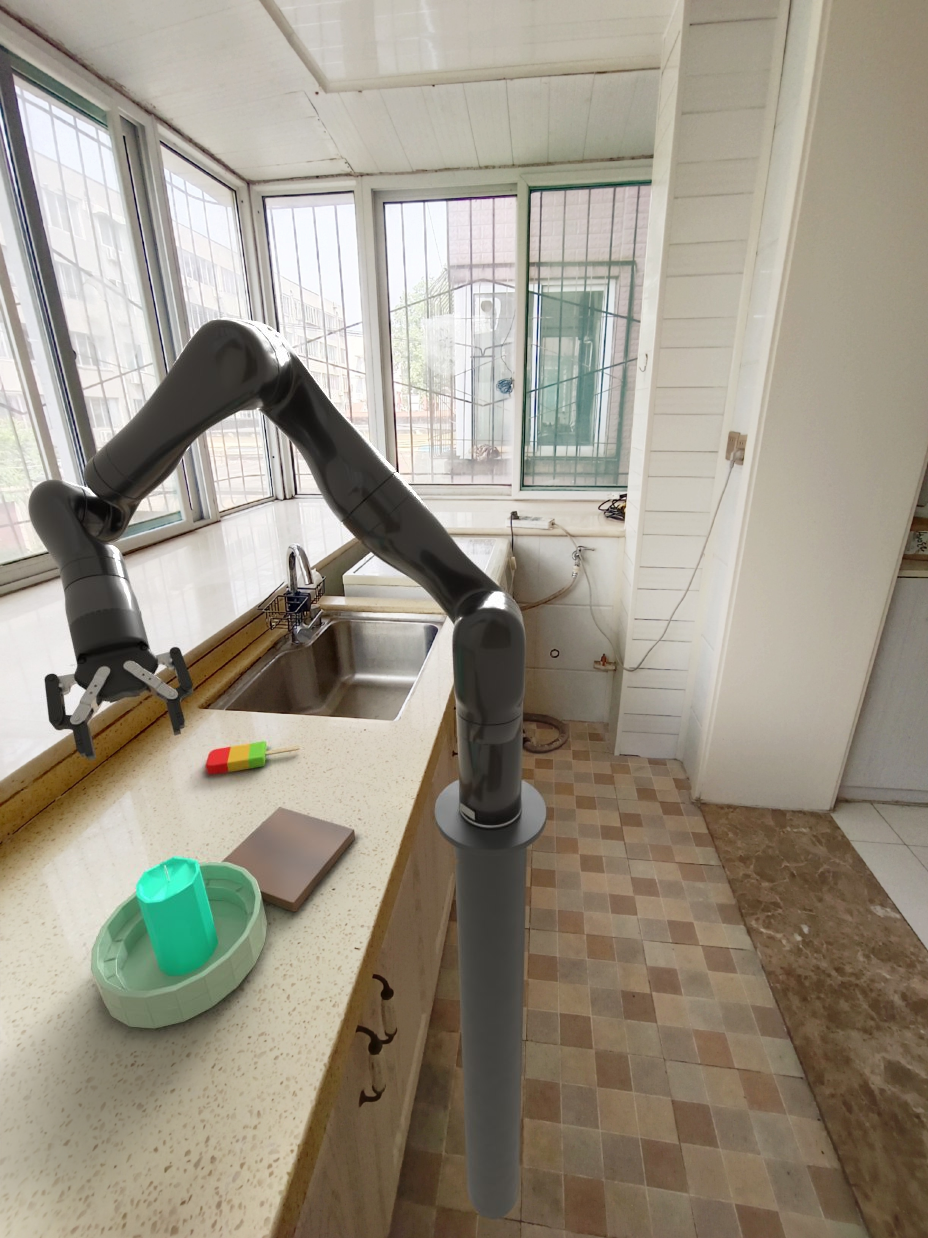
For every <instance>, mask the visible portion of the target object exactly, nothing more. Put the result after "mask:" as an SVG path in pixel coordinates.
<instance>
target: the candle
mask: <svg viewBox="0 0 928 1238" xmlns="http://www.w3.org/2000/svg"><path fill="white" fill-rule="evenodd" d="M199 863H200V862H199V860H196V859H194V858H190V857H184V856H183V857H181V856H176V855H174V856H172V857H170V858H168V859H166V860H164V861H162V862H160V863H157V864H156V865H154V866H153V867H150V868H149V869H146V870H144V872H143V873H142V874H141V876H140V877H139V879H138V881H137V883H136V884H135V891H136V896H137V899H138V903H139V906H140V909H141V912H142V915H143V918H144V921H145V924H146V927H147V931H148V934H149V937H150V940H151V943H152V946H153V949H154V952H155V955H156V959H157V962H158V965H159V968H160V969H161V970H162V971H163V972H165V973H166V974H167V975H185V974H187V973H189V972H191V971H194V970H196V969H198V968H200V967H201V966H202V965H203V964H204V963H205V962H206V961H207V960H208V959H209V958H210V957H211V956H212V955H213V953H214V951H215V949H216V946H217V944H218V939H217V933H216V929H215V925H214V921H213V917H212V913H211V909H210V906H209V902H208V898H207V894H206V890H205V886H204V882H203V878H202V875H201V871H200V867H199Z"/></svg>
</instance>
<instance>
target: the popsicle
mask: <svg viewBox="0 0 928 1238" xmlns="http://www.w3.org/2000/svg"><path fill="white" fill-rule="evenodd" d="M267 749H268V746H267V741H266V740H263V741H256V742H250V743H244V744H238V745H232V746H226V747H220V748H219V747H218V748H215V749H212V750H211V751H209V753H208V756H207V759H206V762H205V770H206V772H207V774H208V775H213V776H214V775H219V774H225V773H233V772H238V771H242V770H243V771H244V770H249V769H255V768H260V767H264V766H265V765H266V758H267V757H266V756H272V755H276V754H283V753H288V752H289V753H290V752H295V751H299V750H300V749H301V746H300V745H295V746H293V745H292V746H288V747H281V748H277V749H270V750H267Z"/></svg>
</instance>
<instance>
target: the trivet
mask: <svg viewBox="0 0 928 1238" xmlns="http://www.w3.org/2000/svg"><path fill="white" fill-rule="evenodd" d="M355 839H356V832H355V829H354V828H352V827H351V828H350V827H348V826H345V825H341V824H337V823H335V822H332V821H329V820H324V819H321V818H318V817H315V816H311V815H308V814H305V813H301V812H298V811H294V810H291V809H288V808H284V807H282V806H279V807H277V809H276V810H275V811H273V812H272V813H271V814H270V815H269V816H268V817H267V818H266V819H265V820H264V821H263V822H262V823H260V825H259V826H258V827H256V828H255V829H254V831H252V832H251V833H249V835H248V836H247V837H246V838H245V839H244V840H243V841H242V842H241V843H240V844H238V846H236V847H235V849H233V850H232V851H231V852H230V853H229V854H228V855H227V856H226V857H225V858H224V859H223V860H222V861H221V862H228V863H231V864H234V865H237V866H239V867H242V868H245V869H246V870H247V871H248V872H249V873H250V874H251V875H252V876H253V877H254V878H255V879H256V880H257V883H258V886H259V890H260V893H261V896H262V901H263V902H267V903H269V904H272V905H274V906H277V907H279V908H283V909H285V910H287V911H290V912H292V913H296V912H297V911H298V910H299V908H300V907H301V906H302V905H303V903H304V902H305V901H306V899H308V897H309V896H310V895H311V893H312V892H313V891H314V890H315V889H316V887H317V886H318V885H319V883H320V882H321V881H322V880H323V879H324V877H325V876H326V875H327V874H328V872H329V871H330V870H331V868H332V867H333V866H334V865H335V864H336V862H337V861H338V860H339V858H340V857H341V856H342V855H343V854H344V853H345V851H346V850H347V849H348V848H349V846H350V845H351V844H352V842H353V841H354V840H355Z"/></svg>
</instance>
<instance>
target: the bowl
mask: <svg viewBox="0 0 928 1238" xmlns="http://www.w3.org/2000/svg"><path fill="white" fill-rule="evenodd" d="M198 863H199V867H200V871H201V875H202V878H203V882H204V886H205V890H206V894H207V898H208V902H209V906H210V909H211V913H212V917H213V921H214V925H215V929H216V933H217V939H218V944H217V946H216V949H215V951H214V953H213V955H212V956H211V957H210V958H209V959H208V960H207V961H206V962H205V963H204V964H203V965H202V966H201V967H200V968H198V969H196V970H194V971H191V972H189V973H187V974H185V975H167V974H166V973H165V972H163V971H162V970H161V969H160V968H159V965H158V962H157V959H156V955H155V952H154V949H153V946H152V943H151V940H150V937H149V934H148V931H147V927H146V924H145V921H144V918H143V915H142V912H141V909H140V906H139V903H138V899H137V896H136V890H135V891H134V892H133V893H132V894H130V895H129V896H128V897H127V898H126V899H125V900H123V901H122V902H121V903H120V904H118V906H116V908H115V909H114V911H113V912H112V913H111V914H110V915H109V916H108V918H107V919H106V921H105V922H104V923H103V924H102V926H101V927H100V929H99V931H98V933H97V936H96V938H95V940H94V943H93V945H92V948H91V957H90V971H91V974H92V976H93V979H94V981H95V984H96V987H97V990H98V992H99V995H100V997H101V1000H102V1002H103V1003H104V1005H105V1007H106V1009H107V1011H108V1013H109V1015H110V1017H112V1018H113V1019H115V1020H117V1021H119V1022H121V1023H122V1024H124V1025H127V1027H130V1028H131V1027H132V1028H144V1029H158V1028H162V1027H167V1026H171V1025H174V1024H175V1025H176V1024H179V1023H184V1022H186V1021H189V1020H190V1019H192V1018H193V1017H196V1016H198V1015H200V1014H202V1013H204V1012H206V1011H208V1010H209V1009H211V1008H213V1007H214V1006H216V1005H217V1004H218V1003H219V1002H221V1001H222V1000H223V999H224V998H226V997H227V996H229V994H230V993H232V992H233V991H234V990H235V989H237V988H238V987H239V986H240V984H241V983H242V981H243V980H244V979H245V978H246V977H247V976H248V974H249V973H250V972H251V970H252V969H253V968H254V967H255V965H256V963H257V960H258V958H259V956H260V955H261V952H262V950H263V947H264V945H265V943H266V935H267V927H268V921H267V916H266V911H265V906H264V900H262V896H261V893H260V890H259V886H258V883H257V880H256V879H255V878H254V877H253V876H252V875H251V874H250V873H249V872H248V871H247V870H246V869H245V868H242V867H239V866H237V865H234V864H231V863H228V862H222V861H204V862H198Z"/></svg>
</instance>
